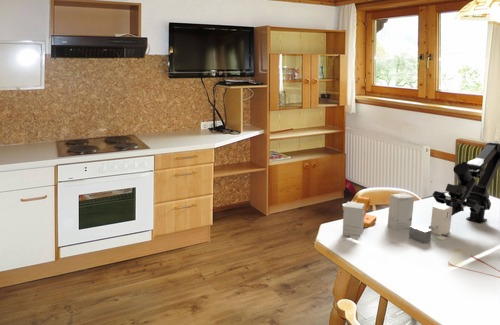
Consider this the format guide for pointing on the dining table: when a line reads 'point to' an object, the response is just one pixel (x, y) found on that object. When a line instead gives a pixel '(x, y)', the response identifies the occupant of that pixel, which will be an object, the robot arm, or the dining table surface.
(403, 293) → the dining table surface
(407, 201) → the skincare box
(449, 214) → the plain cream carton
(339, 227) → the dining table surface
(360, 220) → the supplement box
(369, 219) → the bracket
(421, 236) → the dark gray block
